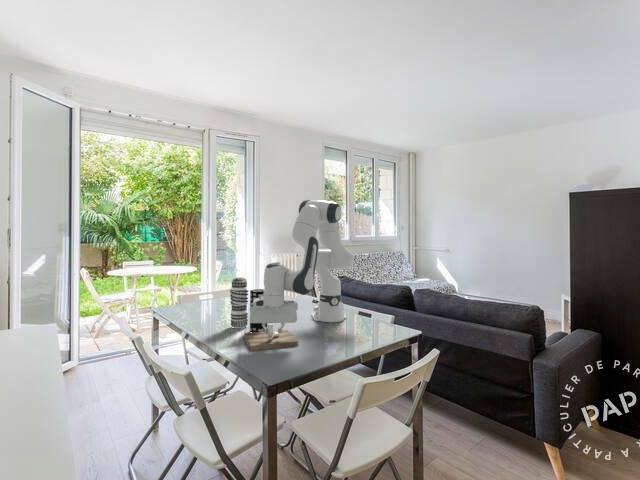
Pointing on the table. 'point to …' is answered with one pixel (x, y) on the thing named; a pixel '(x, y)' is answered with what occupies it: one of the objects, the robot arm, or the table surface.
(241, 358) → the table surface
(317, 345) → the table surface
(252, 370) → the table surface
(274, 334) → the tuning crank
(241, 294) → the decorative candle
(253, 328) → the spotted tube
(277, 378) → the table surface
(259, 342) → the dial board
